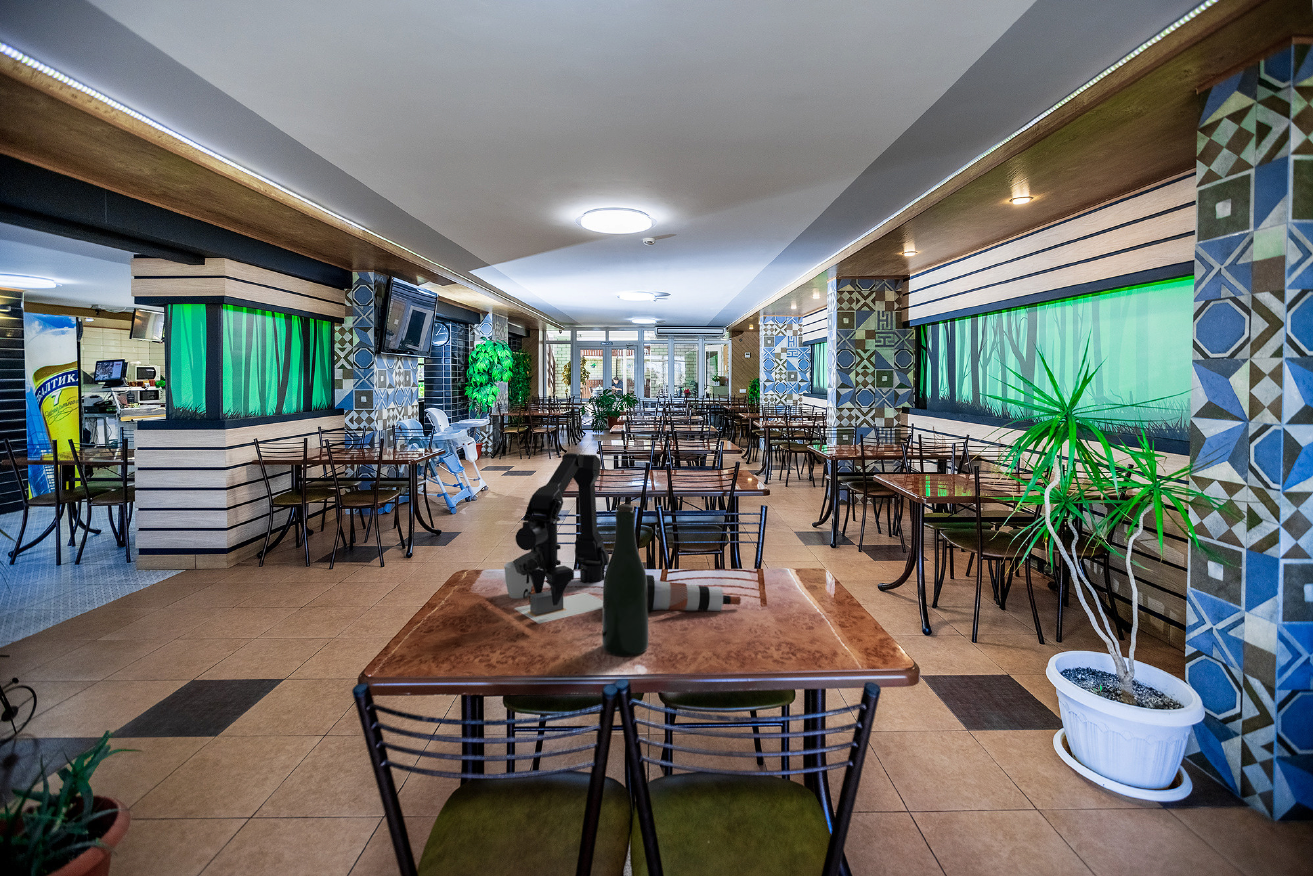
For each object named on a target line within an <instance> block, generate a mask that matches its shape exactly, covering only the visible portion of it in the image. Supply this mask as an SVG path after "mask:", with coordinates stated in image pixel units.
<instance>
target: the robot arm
mask: <svg viewBox="0 0 1313 876" xmlns="http://www.w3.org/2000/svg"><path fill="white" fill-rule="evenodd" d="M601 467H602V462H601V459H600V458H599V456H598V455H596V454H585V453H583V454H581V453H576V452H575V453H573V452H566V453H564V454H563V455H562V458H561V461H560V463H559V465H558V466H557V468H556V469H555V471H554V472H553V474H552V476H551V477H550V479H549V481H548V482H547V483H546V484H545V485H543V486H541V487H539V488H537V489H536V491H534V493H533V494H532V495H531V497H530V499H529V501H528V504H527V507H526V510H525V514H524V517H523V522H522V527H521V528H519V529H518V530H517V532H516V535H515V543H516V546H518V547H519V548H520V549H521V550H523V551H528V552H527V553H524V554H522V555H521V556H519V557H517V558H516V559H514V560H512V561H513V563H514V566H515V569H516V571H517V573H520V574H521V575H523V576H524V575H527V574H528V575H530V578H531V580H532V583H533V585H532V588H533V589H534V592H535V593H534V594H537V593H542V592H543V589H544V583H546V584H548V586H550V591H551V594H552V602H553V605H554V606H555V605H558V603H559V601H560V598H561V596H562V594H563V595H564V592H565V590H566V588H567V586H568V584H569V583H571V582H572V581H573V580H575V571H574V570H573V569H572V568H571V567H569V566H566V565H561V564H562V563H561V562H562V561H561V560H560V559H558V550H561V544H558V522H560V521H561V518H560V517H559V514H560V512H561V511H562V509H563V505H564V499H563V497H564V494H565V491H566V490H567V488H568V487H569V486H570V483H571V482H572V480H574V481H575V483H576V484H577V486H578V487H577V489H578V506H579V507H578V508H579V523H580V526H579V527H580V534H579V535H578V537H577V539H576V540H575V542H574V555H575V560H576V565H580V566H581V569H580V570H579V572H580V577H579V579H580V580H579V582H580V583H583V584H589V583H590V584H594V583H595V584H596V583H600V582H602V581H604V577H605V566H608V563H609V561H610V554H609V553H608V551H607V549H606V547H605V544H604V538H603V537H602V535H601V534H600V533H599V531H598V522H597V517H598V516H597V504H596V502H597V498H596V482H597V480H598V479H599V476H600V475H601V474H600V473H601ZM560 565H561V566H560Z"/></svg>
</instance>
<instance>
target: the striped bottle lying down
mask: <svg viewBox="0 0 1313 876" xmlns="http://www.w3.org/2000/svg"><path fill="white" fill-rule="evenodd" d="M646 577H647V588H648V614H649V613H650V614H651V613H653V611H659V610H666V611H680V612H681V611H682V612H685V611H709V612H711V611H712V612H720V611H722V608H723V605H730V606H731V605H737V606H740V604H741V596H738V595H737V596H736V595H728V594H726V595H725V594H724V591H723V589H722V587H713V586H706V585H705V586H703V585H698V584H687V583H685V582H684V583H683V582H670V581H661V580H655V577H654V575H653V574H652V575H651V574H646Z"/></svg>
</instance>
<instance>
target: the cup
mask: <svg viewBox="0 0 1313 876" xmlns="http://www.w3.org/2000/svg"><path fill="white" fill-rule="evenodd" d="M513 561H514V560H512V561H508V562H506V563H504V565H503V566H504V575H505V584H506V590H507V593H508V596H509V597H510V598H511V599H515V600H516V599H525V598H528V597H529V598H530V595H532V594H531V593H532V590H533V583H532V580H531V578H530V575H528V574H527V575H524V576H523V575H521V574H520V573H517V571H516V569H515V566H514V563H513Z"/></svg>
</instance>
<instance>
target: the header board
mask: <svg viewBox="0 0 1313 876" xmlns="http://www.w3.org/2000/svg"><path fill="white" fill-rule="evenodd" d="M513 609H514V610H516V611H518V612H519V613H520V614H522V615H523V616H526V617H527V618H529V619H531V620H532V621H533V622H536V623H537V624H538V625H539V624H544V623H547V622H551V621H556V620H560V619H564V618H568V617H572V616H576V615H582V614H584V613H589V612H593V611H594V612H595V611H597V610H601V609H602V610H603V599H600V598H599V597H596V596H594V595H592V594H590V593H588V592H582V593H577V594H576V593H575V594H573V595H568V596H563V610H559V611H555V612H550V613H546V614H542V615H537V616H536V615H534V614H533V613H531V612H530V604H527V605H523V606H518V607H514V608H513Z"/></svg>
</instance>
